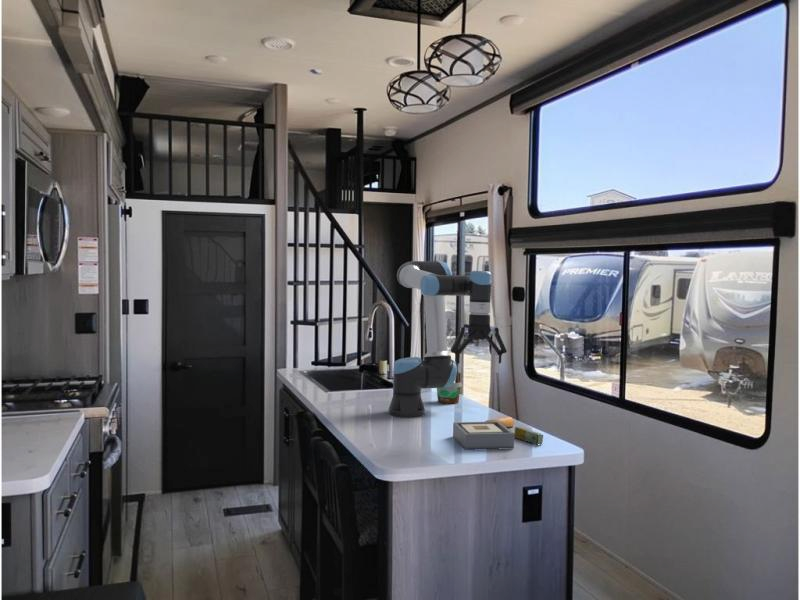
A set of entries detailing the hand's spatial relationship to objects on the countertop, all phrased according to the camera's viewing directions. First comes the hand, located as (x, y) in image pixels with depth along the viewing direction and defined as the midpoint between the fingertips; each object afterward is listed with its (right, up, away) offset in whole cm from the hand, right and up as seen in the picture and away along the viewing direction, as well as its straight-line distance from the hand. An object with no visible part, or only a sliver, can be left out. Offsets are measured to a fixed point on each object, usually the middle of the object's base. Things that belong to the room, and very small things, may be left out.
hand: (478, 372), depth 230 cm
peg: (+5, -22, +12) cm, 25 cm away
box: (+1, -24, -6) cm, 25 cm away
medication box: (+18, -25, -3) cm, 30 cm away
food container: (-7, -21, +58) cm, 62 cm away
